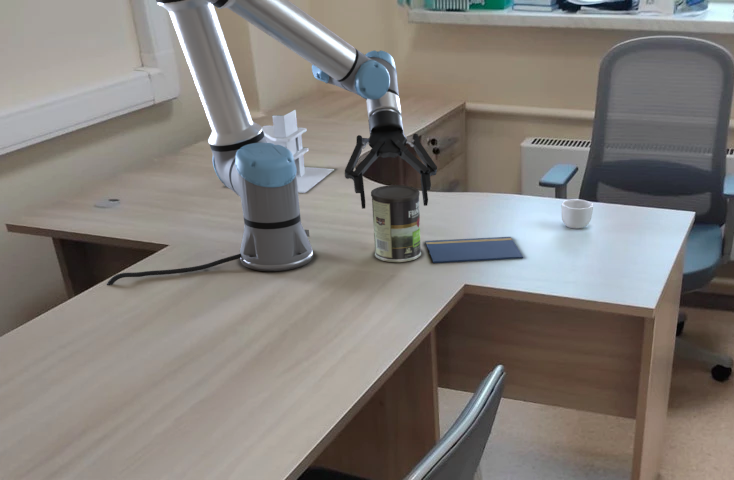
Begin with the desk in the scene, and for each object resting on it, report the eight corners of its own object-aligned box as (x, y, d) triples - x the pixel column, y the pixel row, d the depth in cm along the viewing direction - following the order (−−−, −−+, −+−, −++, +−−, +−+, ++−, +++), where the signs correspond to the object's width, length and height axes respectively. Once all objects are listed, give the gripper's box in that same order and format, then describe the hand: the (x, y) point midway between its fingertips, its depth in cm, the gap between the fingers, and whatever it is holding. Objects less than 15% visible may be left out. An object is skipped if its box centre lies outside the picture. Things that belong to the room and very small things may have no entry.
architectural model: (335, 169, 244) (330, 104, 235) (305, 192, 223) (298, 123, 214) (260, 163, 247) (252, 100, 238) (224, 186, 226) (214, 118, 217)
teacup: (592, 231, 202) (594, 209, 200) (560, 230, 202) (561, 208, 200) (589, 218, 211) (591, 197, 208) (559, 217, 211) (560, 196, 208)
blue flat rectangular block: (433, 263, 182) (433, 261, 182) (425, 242, 193) (425, 240, 193) (523, 258, 186) (523, 256, 186) (510, 238, 197) (510, 236, 197)
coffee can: (426, 248, 190) (425, 186, 183) (413, 264, 181) (411, 200, 174) (383, 244, 191) (380, 182, 184) (367, 260, 183) (363, 196, 176)
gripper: (438, 126, 195) (449, 209, 190) (329, 129, 190) (337, 214, 185) (441, 107, 188) (453, 193, 183) (327, 109, 183) (336, 198, 178)
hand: (395, 204), depth 184 cm, fingers open, 13 cm apart
